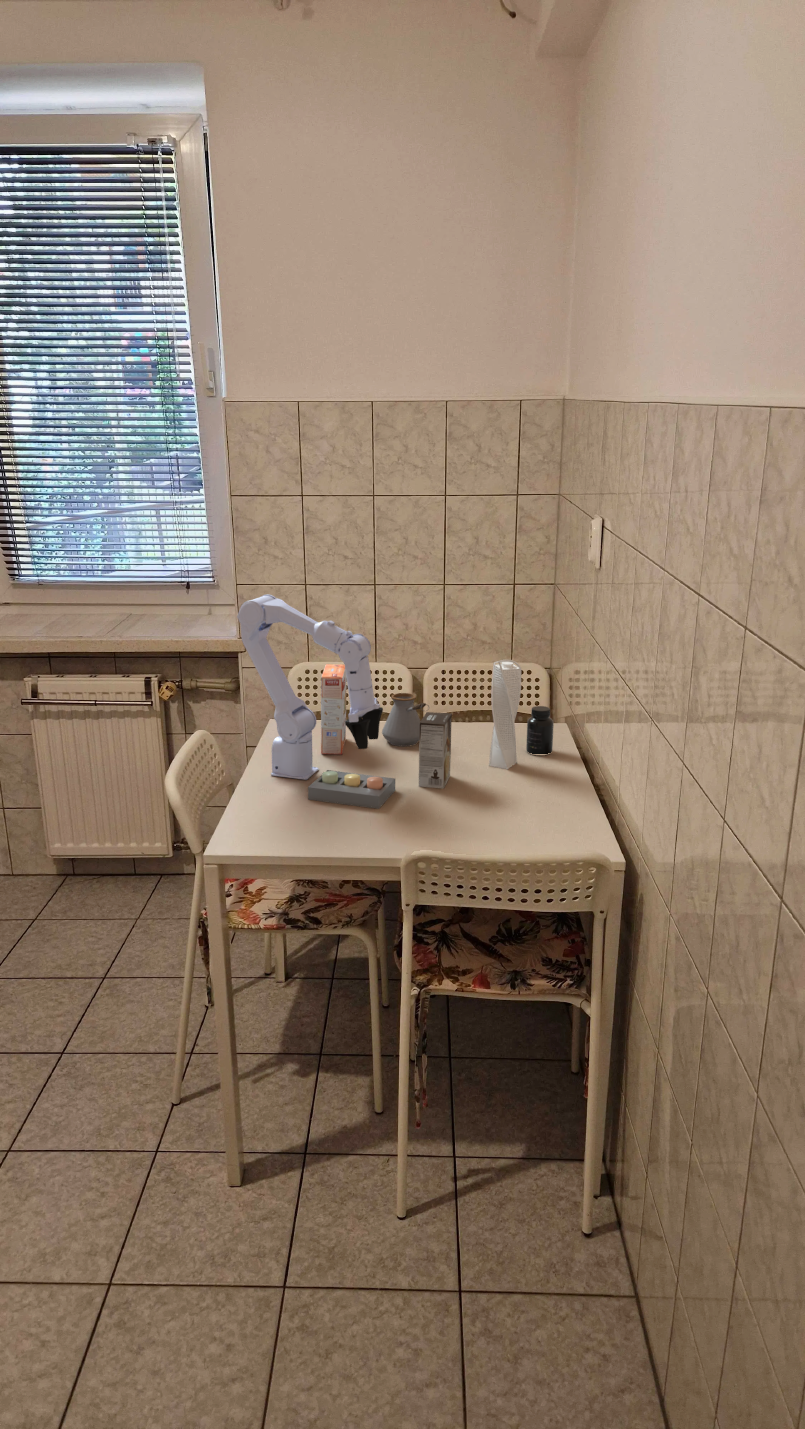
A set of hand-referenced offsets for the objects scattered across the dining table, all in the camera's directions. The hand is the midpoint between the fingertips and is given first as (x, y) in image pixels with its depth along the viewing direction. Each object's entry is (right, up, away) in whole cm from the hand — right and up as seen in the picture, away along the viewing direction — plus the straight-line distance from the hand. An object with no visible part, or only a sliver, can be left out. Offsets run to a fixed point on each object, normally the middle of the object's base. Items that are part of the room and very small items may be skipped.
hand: (368, 743), depth 235 cm
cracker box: (-10, -2, +29) cm, 31 cm away
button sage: (-9, -10, -3) cm, 14 cm away
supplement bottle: (+44, -3, +27) cm, 52 cm away
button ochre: (-4, -11, -5) cm, 12 cm away
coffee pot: (+10, -2, +29) cm, 31 cm away
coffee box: (+16, -9, +5) cm, 19 cm away
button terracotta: (+2, -11, -6) cm, 13 cm away
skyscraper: (+33, -6, +17) cm, 38 cm away
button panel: (-4, -12, -4) cm, 13 cm away
